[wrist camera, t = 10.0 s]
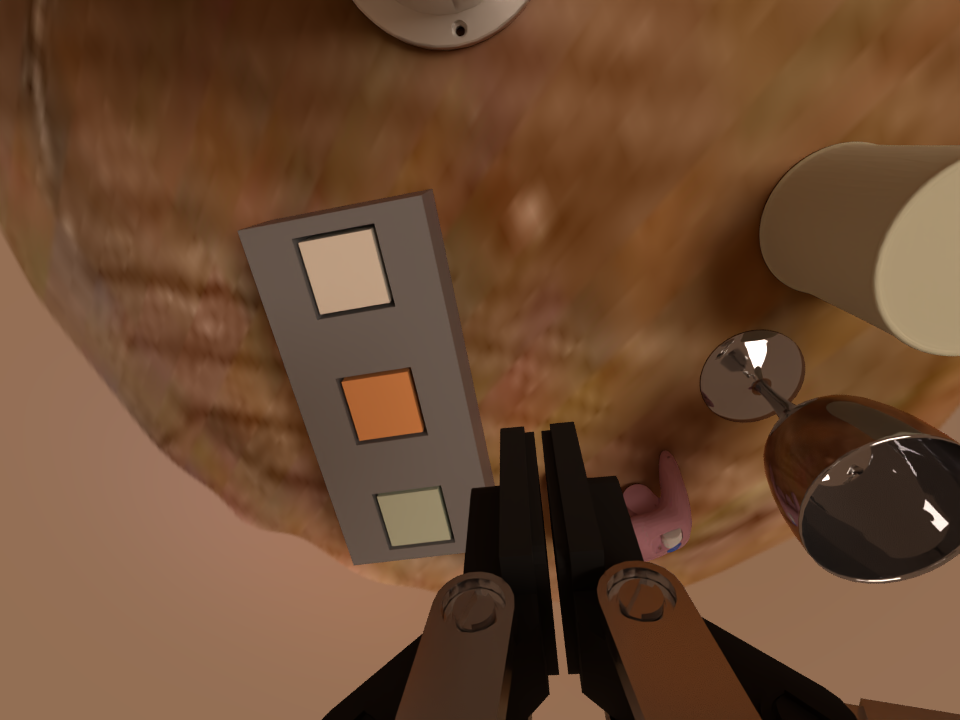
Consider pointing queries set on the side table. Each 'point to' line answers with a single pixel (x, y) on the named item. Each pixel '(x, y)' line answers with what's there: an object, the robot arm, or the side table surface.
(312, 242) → the button cream
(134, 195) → the side table surface
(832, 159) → the can
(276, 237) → the button panel
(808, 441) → the wine glass
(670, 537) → the video game controller
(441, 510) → the button sage
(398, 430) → the button orange
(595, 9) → the side table surface
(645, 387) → the side table surface
